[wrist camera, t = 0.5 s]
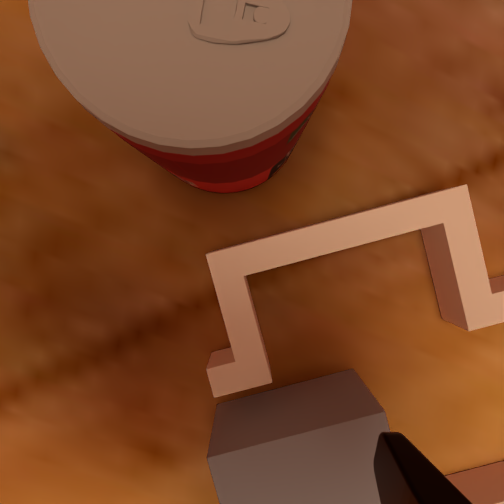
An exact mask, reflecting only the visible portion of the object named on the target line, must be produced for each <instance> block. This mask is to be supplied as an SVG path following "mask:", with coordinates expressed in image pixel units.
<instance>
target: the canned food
mask: <svg viewBox="0 0 504 504" xmlns="http://www.w3.org/2000/svg"><path fill="white" fill-rule="evenodd" d="M28 4H29V12H30V18H31V21H32V24H33V27H34V30H35V33H36V36H37V39H38V42H39V45H40V48H41V49H42V51H43V53H44V55H45V57H46V58H47V60H48V62H49V64H50V66H51V67H52V69H53V71H54V73H55V75H56V76H57V77H58V78H59V79H60V81H61V82H62V83H63V84H64V85H65V87H66V88H67V89H68V90H69V91H70V93H71V94H72V95H73V96H74V97H75V99H76V100H77V101H79V102H80V104H81V105H82V106H83V107H84V108H85V109H86V110H87V111H88V112H89V113H90V114H92V115H93V116H94V117H95V118H97V119H98V120H99V121H100V122H101V123H103V124H104V125H105V126H106V127H108V128H109V129H110V130H112V131H113V132H114V133H116V134H117V135H118V136H119V137H120V138H122V139H123V140H124V141H126V142H127V143H129V144H130V145H131V146H133V147H134V148H136V149H137V150H139V151H140V152H142V153H143V154H144V155H146V156H147V157H149V158H150V159H152V160H153V161H154V162H156V163H157V164H159V165H160V166H162V167H163V168H165V169H166V170H167V171H169V172H170V173H172V174H173V175H175V176H176V177H178V178H179V179H180V180H182V181H184V182H186V183H188V184H190V185H191V186H193V187H196V188H199V189H203V190H206V191H211V192H219V193H229V192H239V191H243V190H247V189H250V188H253V187H255V186H257V185H259V184H261V183H263V182H265V181H266V180H268V179H269V178H270V177H272V176H273V175H274V174H276V173H277V171H278V170H279V169H280V168H281V167H282V166H283V165H284V164H285V162H286V161H287V159H288V157H289V156H290V154H291V152H292V150H293V149H294V147H295V145H296V143H297V141H298V139H299V137H300V136H301V134H302V132H303V130H304V128H305V126H306V125H307V123H308V121H309V119H310V117H311V115H312V113H313V112H314V110H315V108H316V106H317V104H318V102H319V100H320V99H321V97H322V95H323V93H324V91H325V89H326V87H327V86H328V83H329V80H330V78H331V76H332V74H333V72H334V70H335V69H336V66H337V63H338V60H339V57H340V54H341V51H342V48H343V45H344V42H345V39H346V34H347V31H348V28H349V22H350V14H351V6H352V0H28Z"/></svg>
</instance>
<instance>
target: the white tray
mask: <svg viewBox="0 0 504 504" xmlns="http://www.w3.org/2000/svg"><path fill="white" fill-rule="evenodd" d="M418 229H421V233H422V237H423V242H424V246H425V250H426V254H427V258H428V263H429V267H430V271H431V275H432V279H433V283H434V288H435V292H436V296H437V300H438V304H439V309H440V313H441V317H442V319H444V320H446V321H448V322H450V323H452V324H455V325H457V326H459V327H461V328H463V329H465V330H468V331H471V330H475V329H479V328H483V327H487V326H490V325H494V324H498V323H502V322H504V275H503V276H499V277H495V278H491V279H488V275H487V270H486V266H485V262H484V257H483V253H482V249H481V244H480V240H479V236H478V231H477V227H476V222H475V218H474V214H473V209H472V205H471V201H470V196H469V192H468V188H467V185H462V186H457V187H452V188H448V189H443V190H439V191H435V192H431V193H427V194H424V195H420V196H416V197H413V198H409V199H405V200H401V201H398V202H394V203H390V204H386V205H383V206H379V207H375V208H371V209H368V210H364V211H360V212H357V213H353V214H349V215H345V216H342V217H338V218H334V219H330V220H327V221H323V222H319V223H315V224H312V225H308V226H304V227H301V228H297V229H293V230H289V231H286V232H282V233H278V234H274V235H271V236H267V237H263V238H259V239H256V240H252V241H248V242H245V243H241V244H237V245H233V246H230V247H226V248H222V249H218V250H215V251H211V252H209V253H207V254H206V257H207V261H208V265H209V268H210V272H211V276H212V279H213V283H214V286H215V290H216V294H217V297H218V301H219V305H220V308H221V312H222V315H223V319H224V323H225V326H226V330H227V334H228V337H229V341H230V344H231V347H230V348H226V349H222V350H218V351H215V352H212V353H211V356H210V359H209V362H208V365H207V368H206V371H207V375H208V378H209V382H210V385H211V389H212V393H213V396H214V398H216V397H220V396H224V395H227V394H231V393H235V392H239V391H243V390H246V389H250V388H254V387H258V386H262V385H265V384H269V383H272V376H271V369H270V363H269V359H268V355H267V352H266V348H265V344H264V341H263V337H262V333H261V330H260V326H259V322H258V318H257V315H256V311H255V307H254V304H253V300H252V296H251V293H250V289H249V285H248V281H247V278H246V275H250V274H253V273H257V272H261V271H265V270H268V269H272V268H276V267H280V266H283V265H287V264H291V263H295V262H298V261H302V260H306V259H310V258H313V257H317V256H321V255H325V254H328V253H332V252H336V251H340V250H343V249H347V248H351V247H355V246H358V245H362V244H366V243H370V242H373V241H377V240H381V239H385V238H388V237H392V236H396V235H400V234H403V233H407V232H411V231H415V230H418ZM445 477H446V478H447V479H448V480H449V481H450V482H451V483H452V484H453V485H454V486H455V487H456V488H457V489H458V490H459V491H460V492H461V493H462V494H463V495H464V496H465V497H466V498H467V499H468V500H469V501H470V502H471V503H472V504H504V461H501V462H497V463H493V464H490V465H486V466H482V467H478V468H474V469H470V470H466V471H462V472H458V473H455V474H451V475H447V476H445Z"/></svg>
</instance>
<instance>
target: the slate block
mask: <svg viewBox="0 0 504 504" xmlns="http://www.w3.org/2000/svg"><path fill="white" fill-rule="evenodd" d="M381 432H390V429H389V425H388V421H387V417H386V413H385V411H384V410H383V408H382V407H381V405H380V404H379V403H378V401H377V400H376V399H375V397H374V396H373V395H372V393H371V392H370V391H369V389H368V388H367V387H366V385H365V384H364V382H363V381H362V380H361V378H360V377H359V376H358V374H357V373H356V372H355V370H354V369H349V370H346V371H342V372H338V373H334V374H330V375H326V376H323V377H319V378H315V379H311V380H307V381H304V382H300V383H296V384H292V385H288V386H285V387H281V388H277V389H273V390H269V391H266V392H262V393H258V394H254V395H250V396H246V397H243V398H239V399H235V400H231V401H227V402H224V403H220V404H217V408H216V413H215V418H214V423H213V428H212V433H211V439H210V444H209V449H208V454H207V461H208V464H209V468H210V471H211V475H212V478H213V482H214V485H215V489H216V492H217V496H218V499H219V503H220V504H381V502H380V497H379V493H378V488H377V483H376V479H375V474H374V467H373V460H374V455H375V450H376V446H377V441H378V437H379V434H380V433H381Z"/></svg>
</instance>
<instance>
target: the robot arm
mask: <svg viewBox="0 0 504 504" xmlns="http://www.w3.org/2000/svg"><path fill="white" fill-rule="evenodd" d="M373 467H374V474H375V479H376V483H377V488H378V493H379V497H380V502H381V504H472V503H471V502H470V501H469V500H468V499H467V498H466V497H465V496H464V495H463V494H462V493H461V492H460V491H459V490H458V489H457V488H456V487H455V486H454V485H453V484H452V483H451V482H450V481H449V480H448V479H447V478H446V477H445V476H444V475H443V474H442V473H441V472H440V471H439V470H438V469H437V468H436V467H435V466H434V465H433V464H432V463H431V462H430V461H429V460H428V459H427V458H426V457H425V456H424V455H423V454H422V453H421V452H420V451H419V450H418V449H417V448H416V447H415V446H414V445H413V444H412V443H411V442H410V441H409V440H408V439H407V438H406V437H405V436H404V435H403V434H401V433H399V432H381V433H380V434H379V437H378V441H377V446H376V450H375V455H374V460H373Z"/></svg>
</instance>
